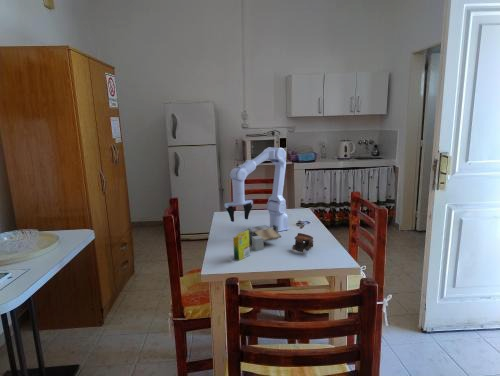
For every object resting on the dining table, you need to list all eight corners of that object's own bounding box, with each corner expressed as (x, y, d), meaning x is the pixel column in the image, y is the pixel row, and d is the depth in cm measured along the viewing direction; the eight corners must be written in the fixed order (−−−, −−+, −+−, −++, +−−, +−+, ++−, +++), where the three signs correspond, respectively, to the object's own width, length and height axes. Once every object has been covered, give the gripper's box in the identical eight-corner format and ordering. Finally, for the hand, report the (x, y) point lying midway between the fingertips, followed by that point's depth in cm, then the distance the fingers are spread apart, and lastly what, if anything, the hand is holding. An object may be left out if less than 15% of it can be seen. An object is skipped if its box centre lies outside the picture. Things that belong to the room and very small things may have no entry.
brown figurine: (287, 248, 152) (292, 231, 154) (303, 254, 156) (308, 237, 157) (302, 251, 141) (307, 232, 143) (319, 257, 145) (324, 239, 147)
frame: (271, 235, 170) (271, 223, 169) (278, 239, 165) (277, 226, 164) (243, 241, 163) (243, 228, 162) (250, 245, 158) (249, 231, 156)
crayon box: (245, 253, 147) (244, 228, 145) (250, 255, 145) (249, 229, 143) (233, 259, 141) (232, 232, 139) (238, 260, 139) (238, 234, 137)
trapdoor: (267, 228, 170) (267, 223, 169) (282, 241, 158) (283, 235, 157) (246, 232, 164) (246, 226, 163) (260, 246, 152) (260, 239, 151)
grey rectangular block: (251, 236, 153) (252, 248, 154) (255, 239, 149) (255, 250, 150) (259, 235, 154) (260, 246, 155) (263, 238, 150) (263, 249, 151)
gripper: (248, 190, 167) (248, 216, 169) (221, 193, 160) (222, 220, 163) (254, 192, 161) (255, 219, 163) (227, 195, 154) (228, 223, 157)
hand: (239, 220), depth 163 cm, fingers open, 7 cm apart
